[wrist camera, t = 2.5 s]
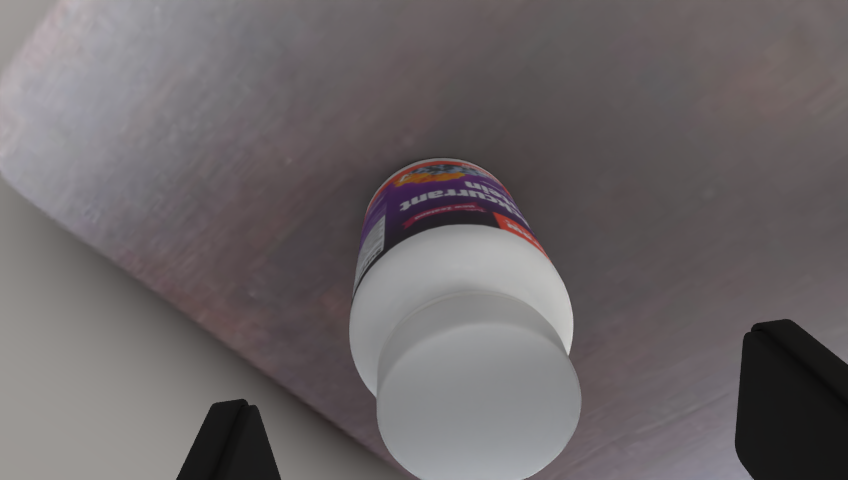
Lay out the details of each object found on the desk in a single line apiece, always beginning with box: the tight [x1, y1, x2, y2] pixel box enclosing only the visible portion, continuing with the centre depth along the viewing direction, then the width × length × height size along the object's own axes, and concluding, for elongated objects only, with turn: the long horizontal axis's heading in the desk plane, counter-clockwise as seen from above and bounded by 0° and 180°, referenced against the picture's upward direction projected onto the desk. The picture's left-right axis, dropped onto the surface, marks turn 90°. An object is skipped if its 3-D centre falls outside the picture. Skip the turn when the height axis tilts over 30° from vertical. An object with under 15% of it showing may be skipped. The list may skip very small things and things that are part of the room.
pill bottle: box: [349, 158, 581, 480], centre depth 15 cm, size 5×5×10 cm
